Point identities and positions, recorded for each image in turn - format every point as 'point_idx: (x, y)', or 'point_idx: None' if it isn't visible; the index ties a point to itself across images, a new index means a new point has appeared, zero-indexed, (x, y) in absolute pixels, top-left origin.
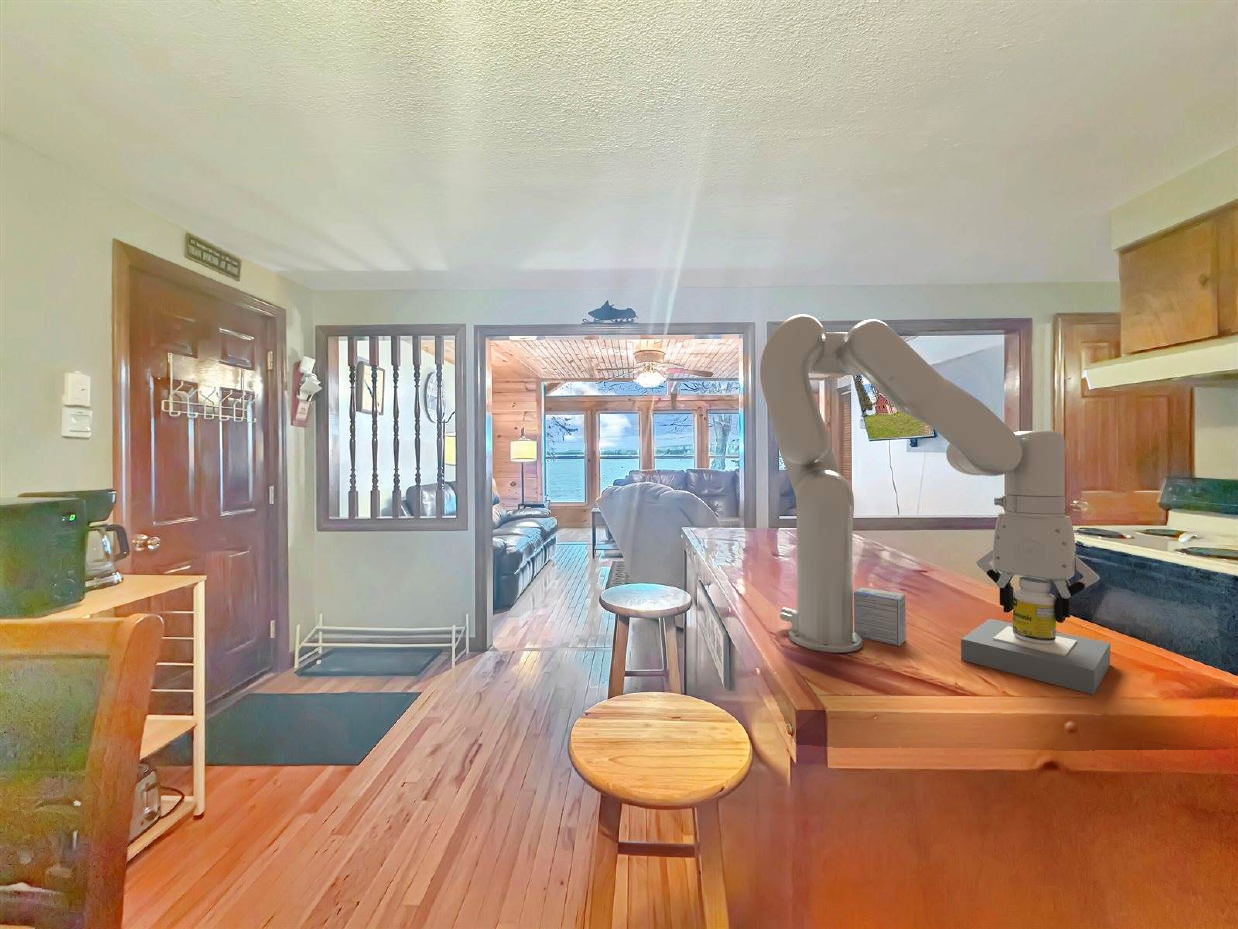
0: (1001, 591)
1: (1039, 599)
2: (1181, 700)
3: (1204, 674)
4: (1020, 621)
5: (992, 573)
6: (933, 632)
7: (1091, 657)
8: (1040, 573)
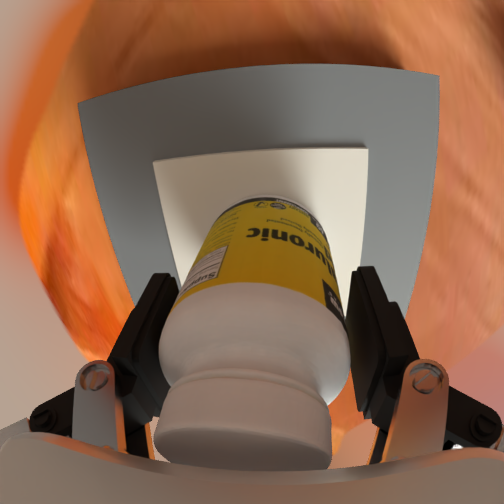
0: (408, 352)
1: (196, 315)
2: (47, 220)
3: (97, 356)
4: (297, 229)
5: (480, 429)
6: (483, 251)
7: (118, 213)
8: (134, 497)
